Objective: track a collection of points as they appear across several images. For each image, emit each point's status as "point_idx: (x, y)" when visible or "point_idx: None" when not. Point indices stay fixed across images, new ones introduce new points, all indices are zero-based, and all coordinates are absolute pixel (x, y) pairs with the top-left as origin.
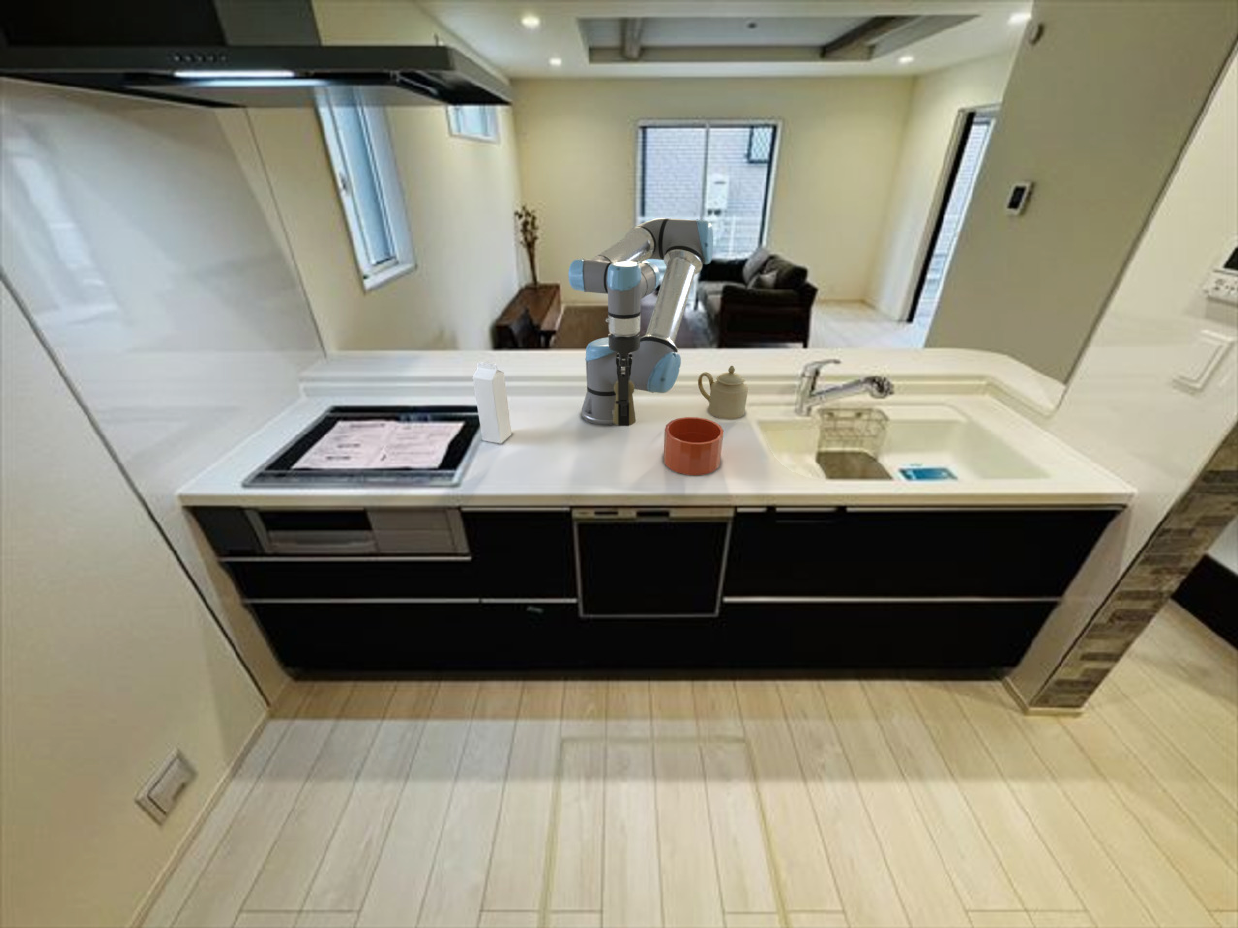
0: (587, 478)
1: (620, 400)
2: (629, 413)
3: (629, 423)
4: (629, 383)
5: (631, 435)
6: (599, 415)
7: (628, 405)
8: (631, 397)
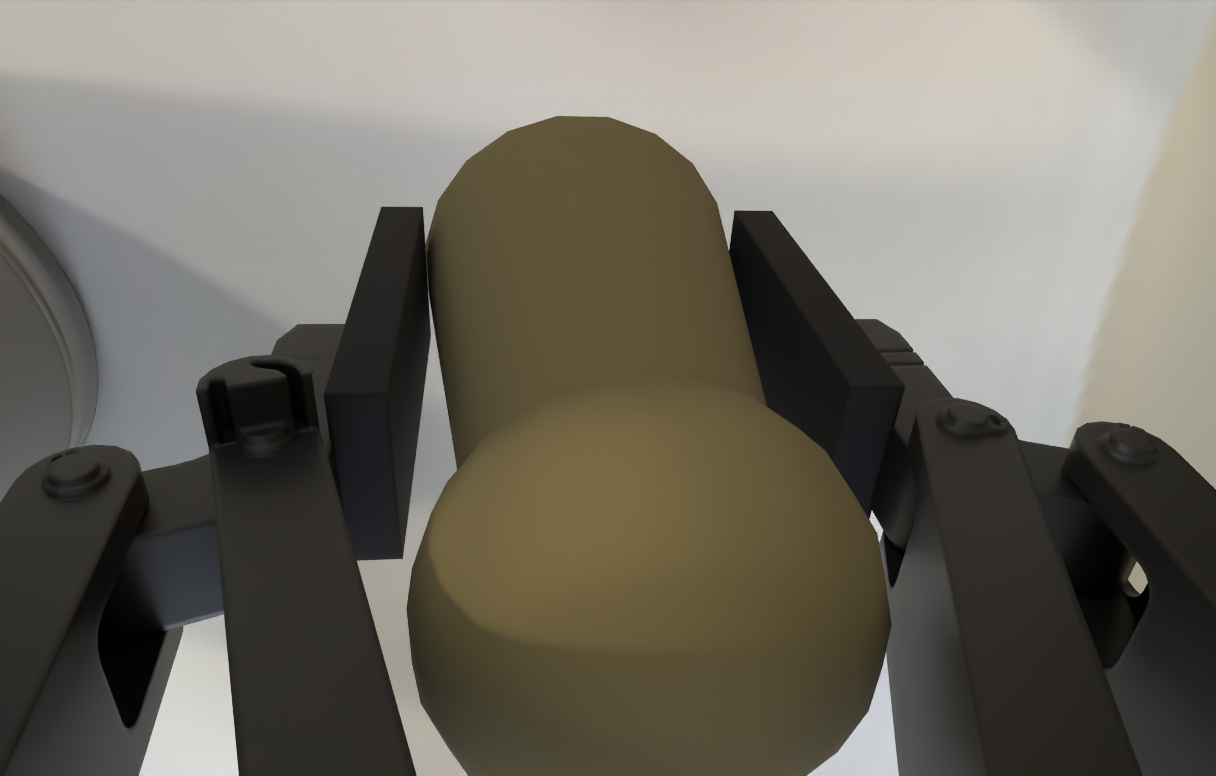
0: (946, 387)
1: (1117, 591)
2: (725, 265)
3: (713, 207)
4: (775, 623)
5: (232, 65)
6: (44, 431)
7: (880, 368)
8: (706, 361)
